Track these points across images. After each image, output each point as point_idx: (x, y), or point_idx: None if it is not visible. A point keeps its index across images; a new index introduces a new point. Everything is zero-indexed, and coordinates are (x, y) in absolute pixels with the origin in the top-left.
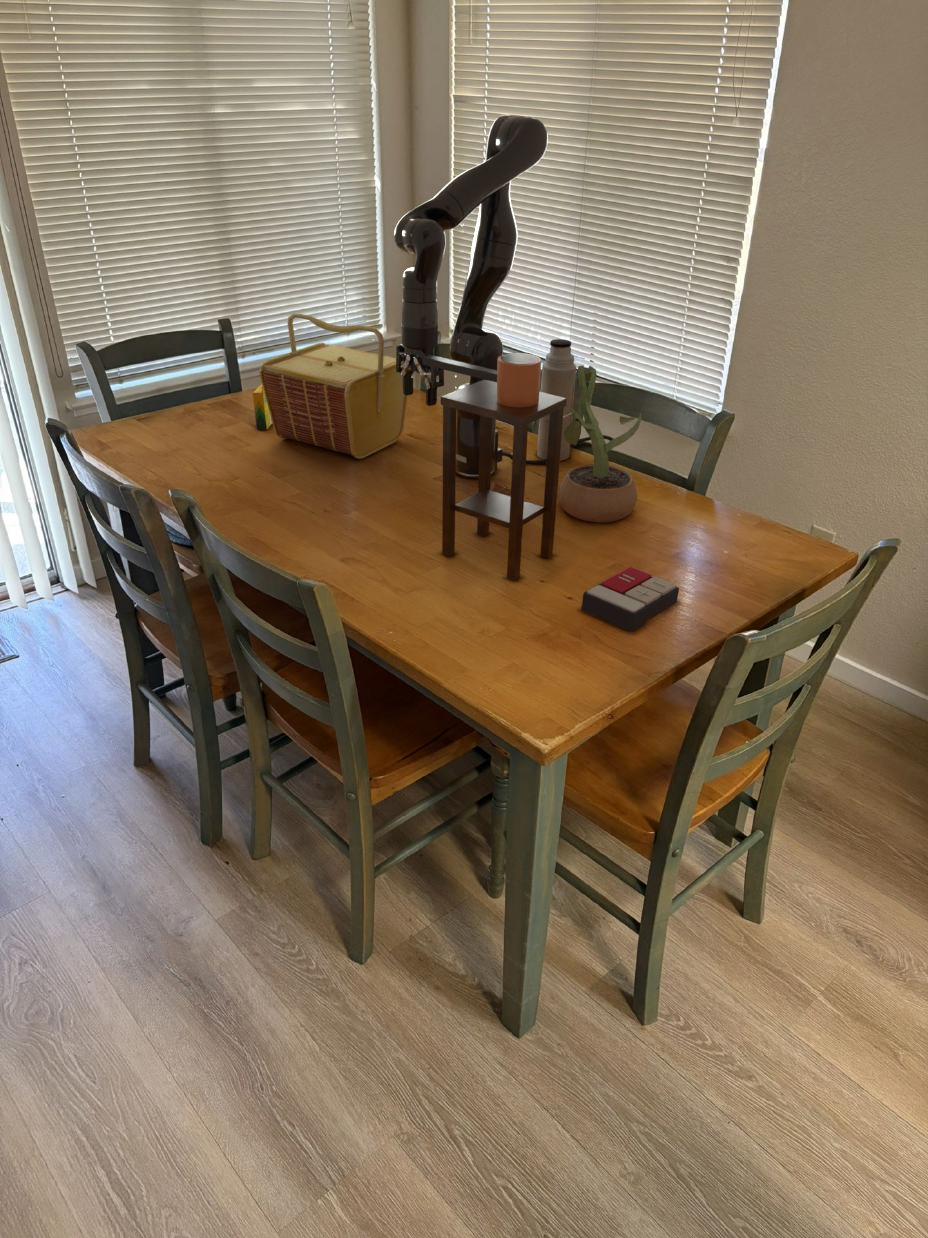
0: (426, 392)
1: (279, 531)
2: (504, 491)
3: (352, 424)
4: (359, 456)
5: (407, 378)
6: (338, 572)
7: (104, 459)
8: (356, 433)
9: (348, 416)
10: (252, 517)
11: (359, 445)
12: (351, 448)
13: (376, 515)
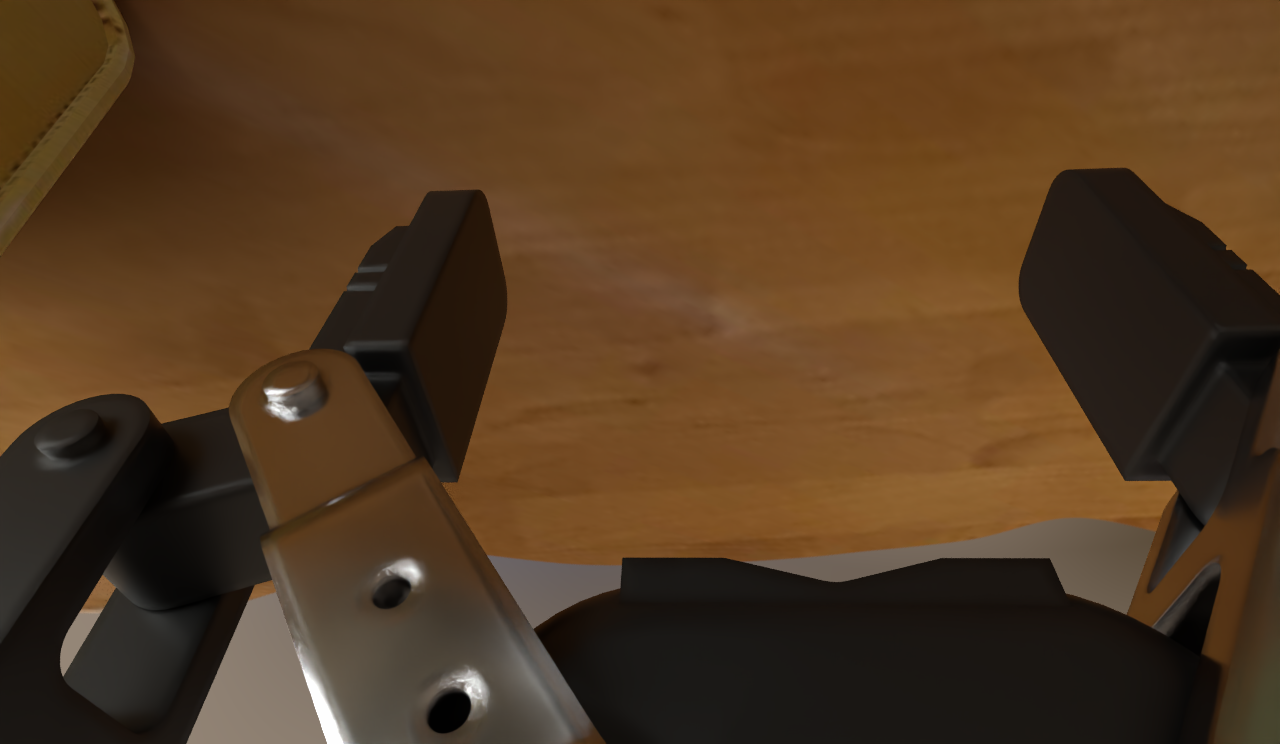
0: (1102, 423)
1: (700, 501)
2: None
3: (10, 153)
4: (108, 5)
5: (444, 442)
6: (1028, 492)
7: None
8: (20, 79)
9: (14, 235)
10: (573, 513)
11: (48, 14)
12: (118, 95)
13: (800, 256)
